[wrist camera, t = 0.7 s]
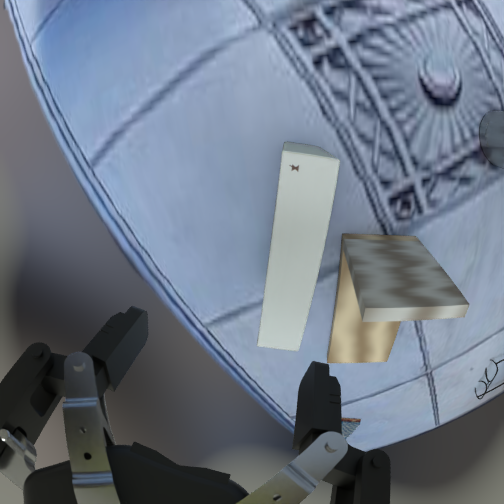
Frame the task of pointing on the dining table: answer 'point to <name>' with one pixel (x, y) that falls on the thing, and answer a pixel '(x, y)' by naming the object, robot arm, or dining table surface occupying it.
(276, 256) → the skincare box
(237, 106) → the dining table surface
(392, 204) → the dining table surface
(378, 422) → the dining table surface
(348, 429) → the woven mat
